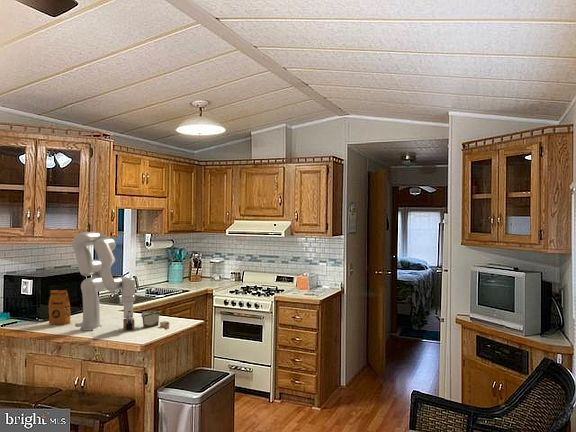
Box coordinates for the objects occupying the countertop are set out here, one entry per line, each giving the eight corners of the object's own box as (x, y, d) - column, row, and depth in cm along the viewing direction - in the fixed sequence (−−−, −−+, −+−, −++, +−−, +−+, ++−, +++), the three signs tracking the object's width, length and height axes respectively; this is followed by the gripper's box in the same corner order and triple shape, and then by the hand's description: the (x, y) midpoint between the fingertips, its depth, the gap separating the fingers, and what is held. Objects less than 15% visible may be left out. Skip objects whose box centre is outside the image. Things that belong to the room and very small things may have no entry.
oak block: (163, 329, 290) (163, 323, 290) (160, 328, 293) (160, 322, 293) (169, 328, 293) (169, 322, 293) (166, 327, 296) (166, 321, 296)
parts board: (118, 334, 279) (118, 332, 279) (118, 330, 288) (118, 328, 288) (140, 332, 284) (140, 330, 284) (138, 328, 293) (138, 326, 293)
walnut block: (123, 331, 282) (123, 320, 282) (123, 328, 288) (123, 318, 288) (134, 330, 284) (134, 320, 284) (133, 327, 290) (133, 318, 290)
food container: (154, 325, 301) (154, 309, 301) (160, 326, 297) (160, 311, 297) (137, 329, 291) (137, 313, 291) (143, 330, 287) (142, 314, 287)
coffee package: (64, 326, 302) (64, 291, 302) (46, 325, 304) (46, 291, 304) (73, 322, 312) (73, 289, 312) (55, 322, 314) (55, 288, 314)
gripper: (121, 296, 292) (121, 326, 292) (122, 301, 277) (123, 332, 277) (134, 295, 295) (134, 324, 295) (136, 300, 279) (136, 331, 279)
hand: (128, 328), depth 286 cm, fingers closed on walnut block, 6 cm apart
